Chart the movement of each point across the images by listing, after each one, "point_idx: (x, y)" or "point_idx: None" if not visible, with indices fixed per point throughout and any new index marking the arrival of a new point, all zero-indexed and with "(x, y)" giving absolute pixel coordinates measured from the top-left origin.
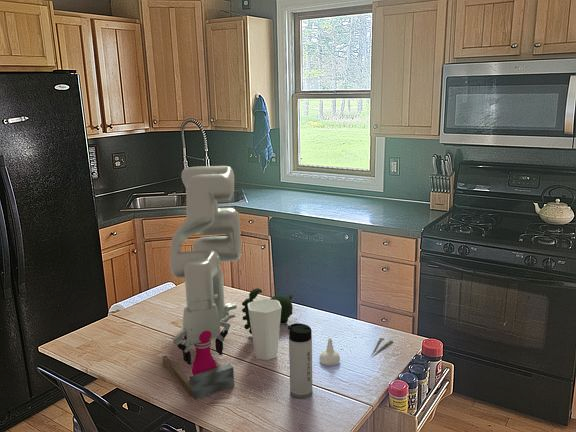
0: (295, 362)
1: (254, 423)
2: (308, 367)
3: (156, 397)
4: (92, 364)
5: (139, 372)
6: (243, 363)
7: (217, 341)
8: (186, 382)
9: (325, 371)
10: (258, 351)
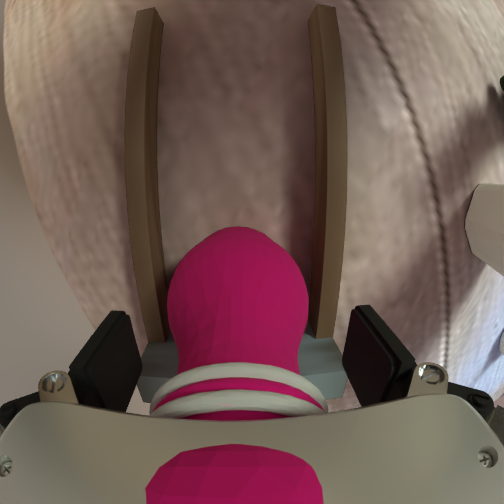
0: None
1: None
2: None
3: (59, 261)
4: (15, 2)
5: (58, 63)
6: (426, 222)
7: (380, 399)
8: (144, 297)
9: (484, 362)
10: (485, 243)
